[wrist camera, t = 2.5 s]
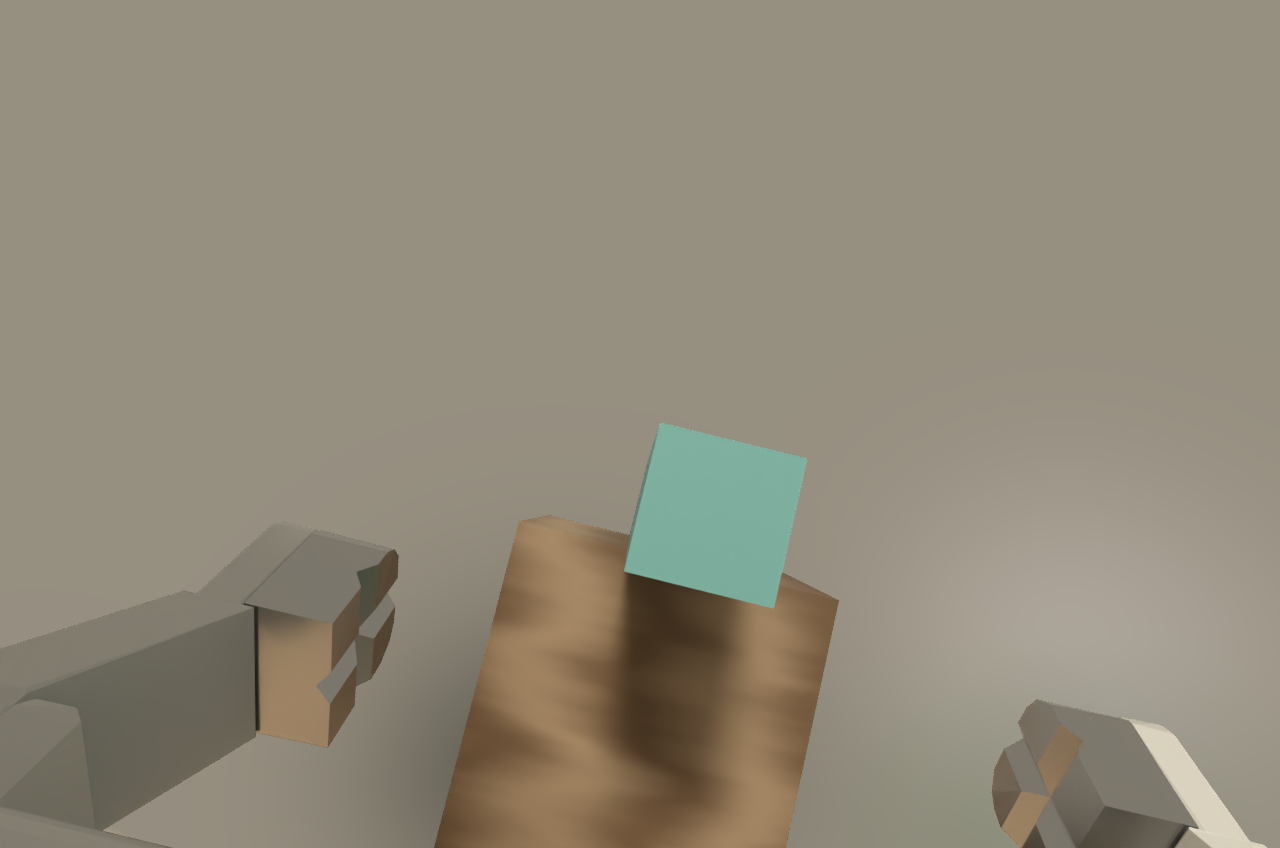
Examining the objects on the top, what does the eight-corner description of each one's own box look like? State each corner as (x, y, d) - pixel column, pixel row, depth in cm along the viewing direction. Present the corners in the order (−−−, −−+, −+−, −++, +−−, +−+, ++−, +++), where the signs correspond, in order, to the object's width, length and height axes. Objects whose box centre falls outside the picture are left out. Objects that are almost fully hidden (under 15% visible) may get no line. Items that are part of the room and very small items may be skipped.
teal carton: (624, 571, 19) (660, 422, 19) (630, 532, 41) (647, 463, 41) (773, 608, 19) (807, 458, 19) (699, 549, 41) (715, 480, 41)
